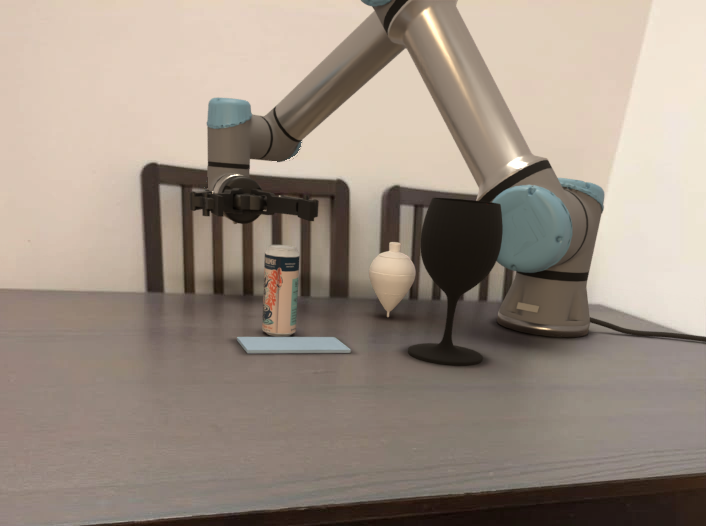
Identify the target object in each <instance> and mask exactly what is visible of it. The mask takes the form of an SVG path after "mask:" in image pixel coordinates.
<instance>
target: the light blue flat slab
mask: <svg viewBox="0 0 706 526" xmlns="http://www.w3.org/2000/svg"><path fill="white" fill-rule="evenodd" d="M236 341H237V343H238V344H239V346H241V348H242V349H243V350H244V351H245V352H246V354H249V355H250V354H252V355H253V354H254V355H255V354H351V351H352V349H351V348H350V347H348V346H347V345H346V344H345V343H343V342H342V341H341V340H339V339H338V338H336V337H335V336H285V337H278V336H237V337H236Z"/></svg>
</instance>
